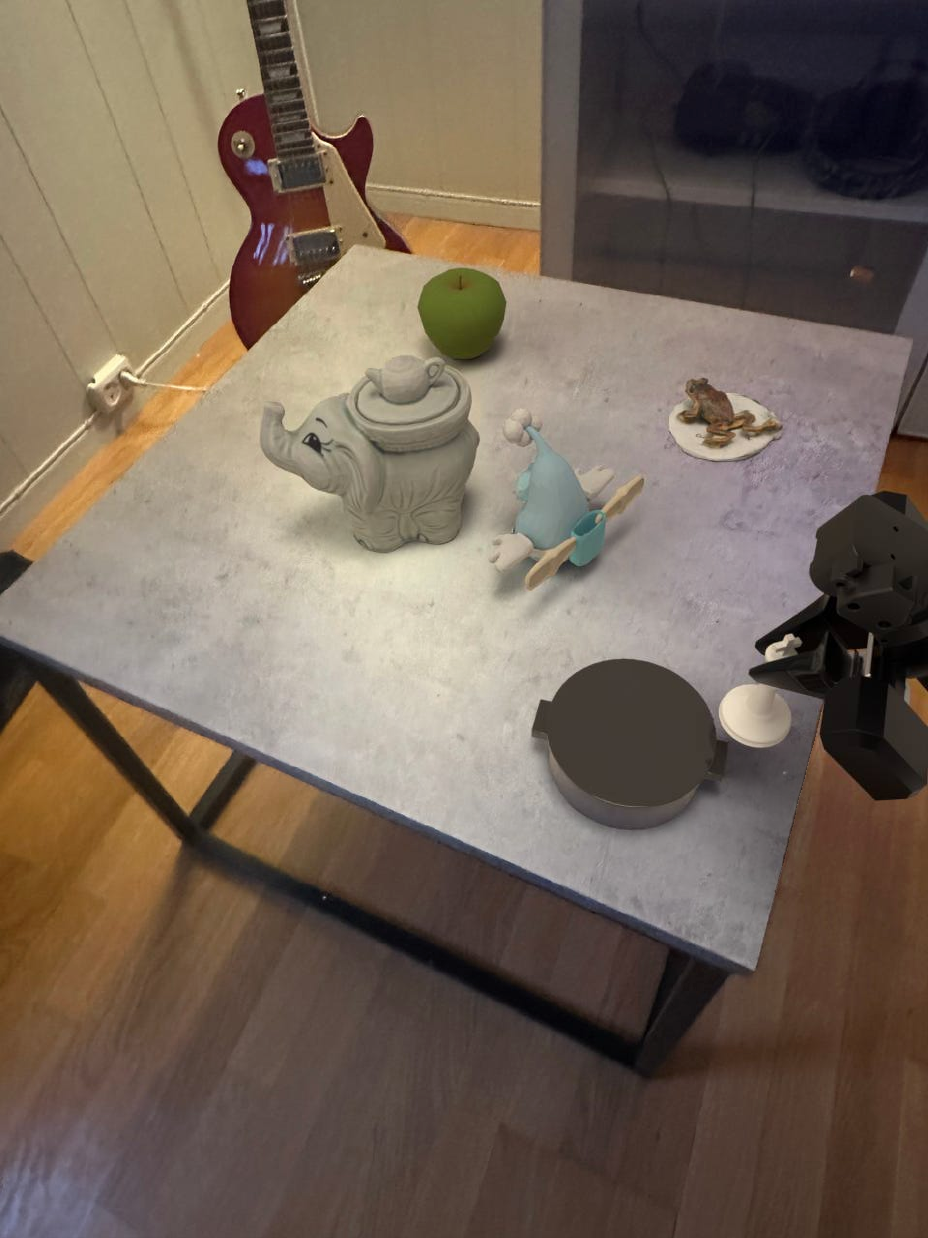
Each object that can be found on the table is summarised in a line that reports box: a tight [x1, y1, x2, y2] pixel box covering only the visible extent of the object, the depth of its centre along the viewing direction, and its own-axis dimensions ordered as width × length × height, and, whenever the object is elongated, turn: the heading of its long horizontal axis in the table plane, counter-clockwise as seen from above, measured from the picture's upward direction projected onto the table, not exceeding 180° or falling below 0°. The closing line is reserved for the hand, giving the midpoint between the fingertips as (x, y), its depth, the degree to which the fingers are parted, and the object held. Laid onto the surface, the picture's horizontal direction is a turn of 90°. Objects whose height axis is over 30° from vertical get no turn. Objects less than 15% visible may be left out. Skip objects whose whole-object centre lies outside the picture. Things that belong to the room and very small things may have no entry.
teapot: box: [259, 354, 481, 553], centre depth 71 cm, size 16×15×19 cm
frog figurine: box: [667, 377, 784, 462], centre depth 82 cm, size 12×12×4 cm
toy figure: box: [488, 408, 645, 591], centre depth 69 cm, size 17×10×15 cm, turn 136°
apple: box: [416, 267, 507, 360], centre depth 92 cm, size 11×10×10 cm
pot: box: [530, 658, 729, 830], centre depth 59 cm, size 15×13×5 cm
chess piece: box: [718, 634, 802, 749], centre depth 51 cm, size 5×5×10 cm
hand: (755, 662), depth 50 cm, fingers closed on chess piece
